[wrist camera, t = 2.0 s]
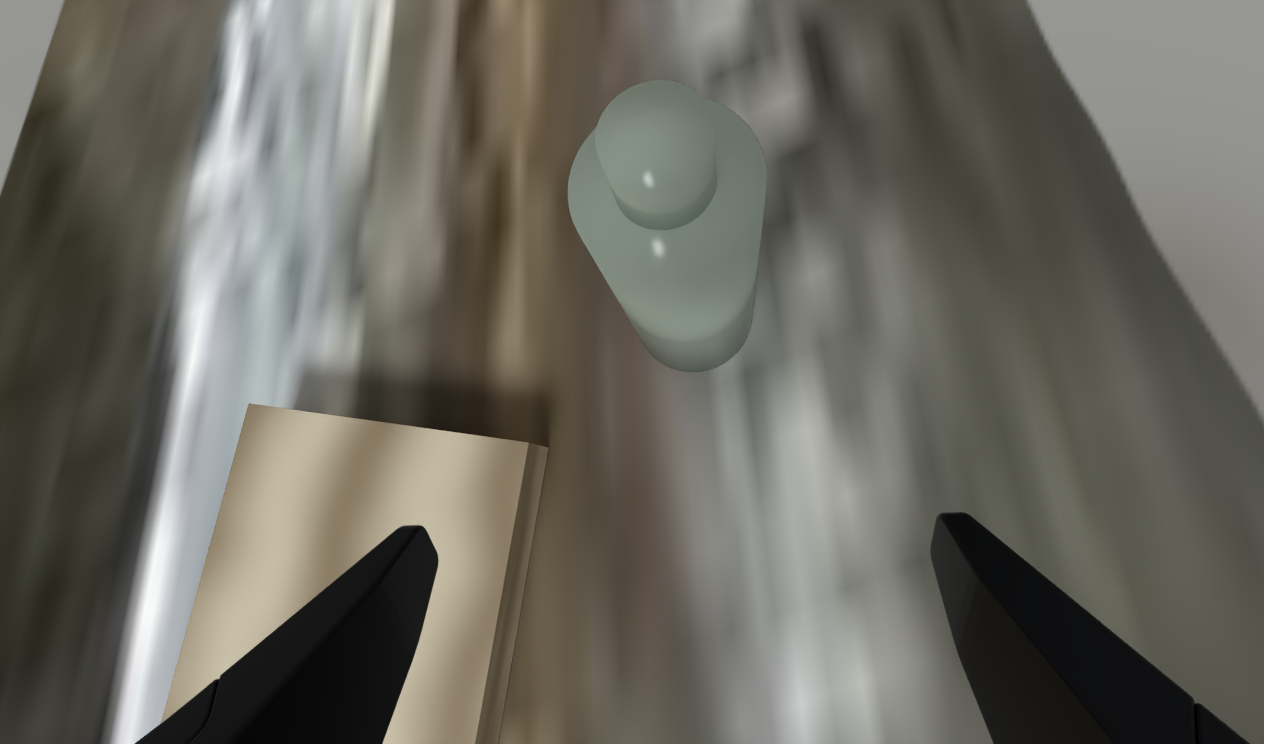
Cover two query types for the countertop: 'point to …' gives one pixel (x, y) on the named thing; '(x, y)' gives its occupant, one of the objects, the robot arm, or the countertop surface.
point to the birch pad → (350, 528)
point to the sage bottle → (674, 219)
